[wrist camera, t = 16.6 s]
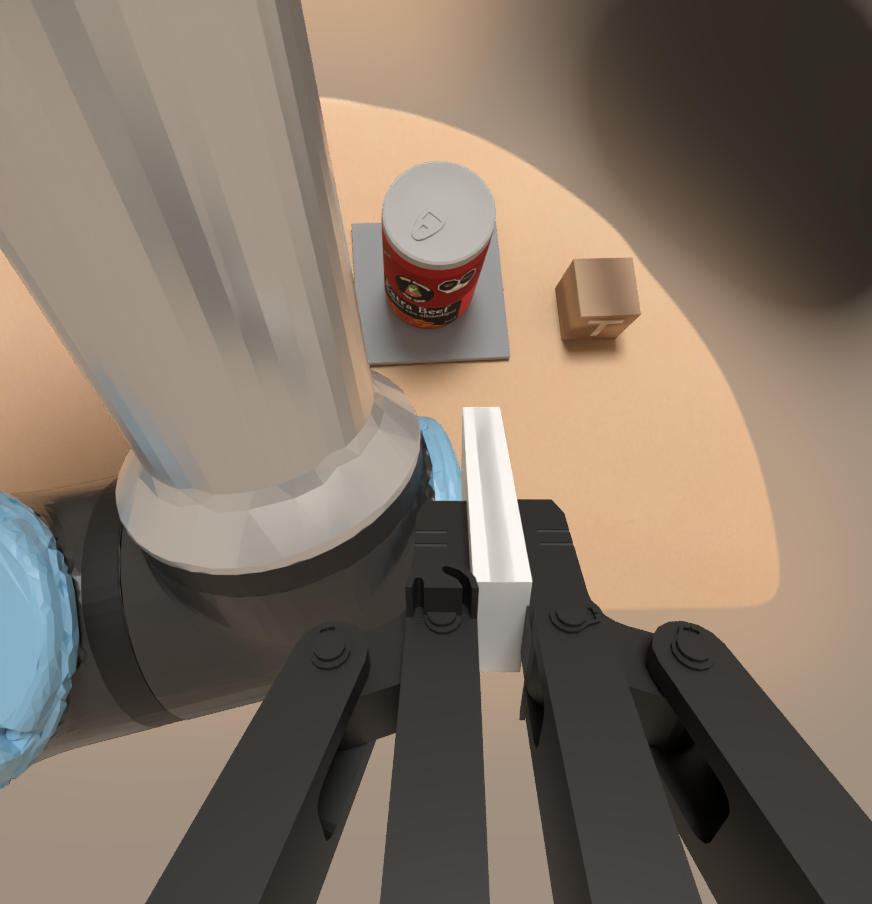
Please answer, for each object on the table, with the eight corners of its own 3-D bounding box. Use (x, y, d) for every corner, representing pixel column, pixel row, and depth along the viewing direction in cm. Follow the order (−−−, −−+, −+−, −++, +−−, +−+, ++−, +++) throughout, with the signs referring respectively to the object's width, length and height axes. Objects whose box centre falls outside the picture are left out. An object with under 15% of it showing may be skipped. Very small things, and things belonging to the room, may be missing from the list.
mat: (359, 366, 44) (359, 363, 44) (352, 227, 47) (351, 223, 46) (508, 358, 46) (510, 356, 45) (494, 224, 48) (495, 220, 47)
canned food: (369, 309, 45) (361, 235, 34) (408, 234, 46) (412, 140, 36) (450, 347, 45) (467, 284, 34) (486, 270, 46) (514, 187, 36)
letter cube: (561, 341, 46) (581, 317, 42) (555, 288, 47) (573, 259, 42) (615, 339, 47) (641, 315, 42) (607, 287, 48) (632, 257, 43)
